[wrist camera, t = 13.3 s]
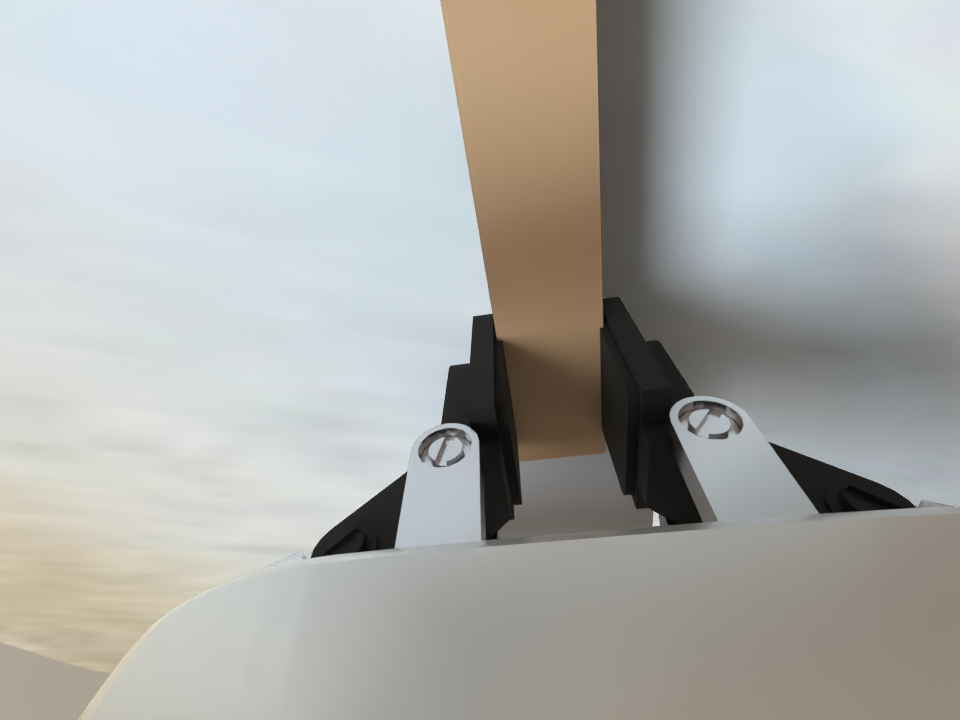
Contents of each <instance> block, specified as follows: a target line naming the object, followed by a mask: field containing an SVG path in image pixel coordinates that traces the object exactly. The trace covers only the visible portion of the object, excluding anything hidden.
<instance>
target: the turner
mask: <svg viewBox="0 0 960 720" xmlns="http://www.w3.org/2000/svg"><path fill="white" fill-rule="evenodd" d="M441 6H442V12H443V18H444V24H445V30H446V36H447V42H448V48H449V54H450V60H451V66H452V72H453V78H454V84H455V90H456V96H457V102H458V108H459V114H460V120H461V126H462V132H463V138H464V144H465V150H466V156H467V162H468V168H469V174H470V180H471V187H472V193H473V199H474V205H475V211H476V217H477V223H478V229H479V235H480V241H481V247H482V253H483V259H484V265H485V271H486V277H487V283H488V289H489V295H490V301H491V307H492V313H493V319H494V325H495V331H496V337H497V341H502V340H503V347H504V354H505V360H506V367H507V373H508V380H509V387H510V393H511V400H512V407H513V413H514V420H515V426H516V433H517V441H518V454H519V467H520V480H521V493H522V505H514V516H515V520H509V521H508V522H507V523H506V524H505V525H504V526H503V527H502V528H501V529H500V530H499V534H500V539H507V538H519V537H531V536H543V535H555V534H567V533H580V532H592V531H604V530H617V529H629V528H642V527H652V523H653V510H651V509H649V508H645V509H636V508H635V505H634V502H633V499H632V496H631V495H623V493H622V490H621V487H620V484H619V481H618V478H617V475H616V472H615V469H614V465H613V462H612V459H611V456H610V453H609V450H608V447H607V444H606V440H605V437H604V434H603V431H602V415H601V362H600V328H603V293H602V248H601V203H600V158H599V112H598V67H597V22H596V0H441Z"/></svg>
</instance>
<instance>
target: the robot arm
mask: <svg viewBox="0 0 960 720" xmlns="http://www.w3.org/2000/svg"><path fill="white" fill-rule="evenodd" d="M600 362H601V415H602V431H603V434H604V437H605V440H606V444H607V447H608V450H609V453H610V456H611V459H612V462H613V465H614V469H615V472H616V475H617V478H618V481H619V484H620V487H621V490H622V493H623V495H631V496H632V499H633V502H634V505H635V508H636V509H645V508H649V509H651V510H653V511H655V512H656V513H658V514H659V520H660V526H654V527H642V528H629V529H617V530H604V531H592V532H580V533H567V534H555V535H543V536H531V537H519V538H507V539H500V534H499V530H500V529H501V528H502V527H503V526H504V525H505V524H506V523H507V522H508V521H509V520H515V516H514V505H522V493H521V480H520V467H519V454H518V441H517V433H516V426H515V420H514V413H513V407H512V400H511V393H510V387H509V380H508V373H507V367H506V360H505V354H504V347H503V340H502V341H497V337H496V331H495V325H494V319H493V314H488V315H481V316H473V326H472V341H471V355H470V363H469V364H461V365H453V366H450V368H449V373H448V380H447V387H446V394H445V401H444V408H443V415H442V422H441V425H438V426H435V427H433V428H431V429H429V430H427V431H426V432H424V433H423V434H422V435H420V436H419V437H418V439H417V440H416V441H415V442H414V444H413V447H412V449H411V453H410V459H409V465H408V471H407V472H406V473H405V474H403V475H402V476H401V477H400V478H398V479H397V480H396V481H394V482H393V483H392V484H390V485H389V486H388V487H386V488H385V489H384V490H382V491H381V492H380V493H378V494H377V495H376V496H375V497H373V498H372V499H371V500H369V501H368V502H367V503H365V504H364V505H363V506H361V507H360V508H359V509H357V510H356V511H355V512H354V513H352V514H351V515H350V516H348V517H347V518H346V519H344V520H343V521H342V522H340V523H339V524H338V525H336V526H335V527H334V528H333V529H331V530H330V531H329V532H328V533H327V534H326V535H325V536H324V537H322V538H321V540H320V541H319V542H318V544H317V545H316V547H315V548H314V550H313V552H312V553H310V554H308V555H306V556H305V555H304V554H303V552H302V551H300V552H298V553H296V554H293V555H291V556H289V557H287V558H284V559H282V560H280V561H278V562H275V563H273V564H271V565H269V566H266V567H264V568H262V569H259V570H256V571H253V572H250V573H247V574H243V575H240V576H237V577H235V578H232V579H230V580H228V581H225V582H223V583H221V584H219V585H216V586H214V587H212V588H209V589H207V590H205V591H203V592H201V593H199V594H197V595H195V596H193V597H192V598H190V599H188V600H186V601H185V602H183V603H181V604H180V605H178V606H176V607H175V608H173V609H172V610H170V611H169V612H168V613H166V614H165V615H164V616H163V617H161V618H160V619H159V620H158V621H156V622H155V623H154V624H153V625H152V626H151V627H150V628H149V629H148V630H147V631H146V632H145V633H144V634H143V635H142V636H141V637H140V638H139V640H138V641H137V642H136V643H135V644H134V645H133V646H132V648H131V649H130V650H129V651H128V652H127V654H126V655H125V656H124V657H123V659H122V660H121V661H120V662H119V664H118V665H117V666H116V668H115V669H114V670H113V671H112V673H111V674H110V676H109V677H108V679H107V680H106V681H105V683H104V684H103V685H102V687H101V688H100V689H99V691H98V692H97V694H96V695H95V697H94V698H93V699H92V701H91V702H90V703H89V705H88V706H87V707H86V709H85V711H84V712H83V713H82V715H81V716H80V718H79V719H78V720H960V507H954V506H949V505H944V504H939V503H933V502H928V501H923V500H922V501H921V502H920V504H919V505H918V507H917V506H914V505H913V504H912V503H911V502H910V501H909V500H907V499H906V498H904V497H903V496H901V495H900V494H898V493H897V492H895V491H894V490H892V489H890V488H887V487H885V486H883V485H881V484H879V483H876V482H874V481H871V480H868V479H866V478H863V477H861V476H858V475H855V474H853V473H850V472H847V471H845V470H842V469H839V468H837V467H834V466H831V465H829V464H826V463H823V462H821V461H818V460H815V459H813V458H810V457H807V456H805V455H802V454H799V453H797V452H794V451H792V450H789V449H786V448H784V447H781V446H778V445H776V444H773V443H770V442H768V441H767V440H766V438H765V437H764V436H763V434H762V433H761V431H760V430H759V429H758V427H757V426H756V424H755V423H754V422H753V420H752V419H751V417H750V416H749V415H748V414H747V413H746V412H745V411H744V410H743V409H742V408H741V407H739V406H737V405H736V404H734V403H732V402H729V401H727V400H724V399H721V398H716V397H711V396H695V395H694V394H693V392H692V391H691V389H690V388H689V386H688V385H687V383H686V382H685V380H684V378H683V377H682V375H681V374H680V372H679V371H678V369H677V368H676V366H675V365H674V363H673V362H672V360H671V358H670V357H669V355H668V354H667V352H666V351H665V349H664V348H663V346H662V345H661V343H660V342H659V341H657V340H654V341H646V342H645V340H644V338H643V337H642V335H641V333H640V332H639V330H638V328H637V327H636V325H635V323H634V321H633V320H632V318H631V316H630V315H629V313H628V311H627V310H626V308H625V306H624V305H623V303H622V301H621V300H620V298H619V297H613V298H606V299H603V328H600Z"/></svg>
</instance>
